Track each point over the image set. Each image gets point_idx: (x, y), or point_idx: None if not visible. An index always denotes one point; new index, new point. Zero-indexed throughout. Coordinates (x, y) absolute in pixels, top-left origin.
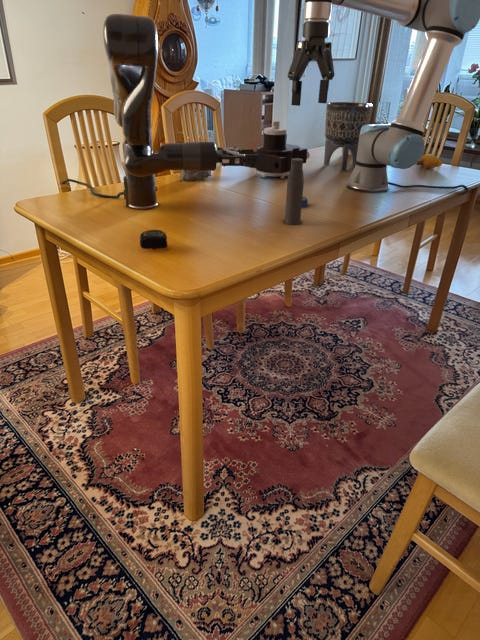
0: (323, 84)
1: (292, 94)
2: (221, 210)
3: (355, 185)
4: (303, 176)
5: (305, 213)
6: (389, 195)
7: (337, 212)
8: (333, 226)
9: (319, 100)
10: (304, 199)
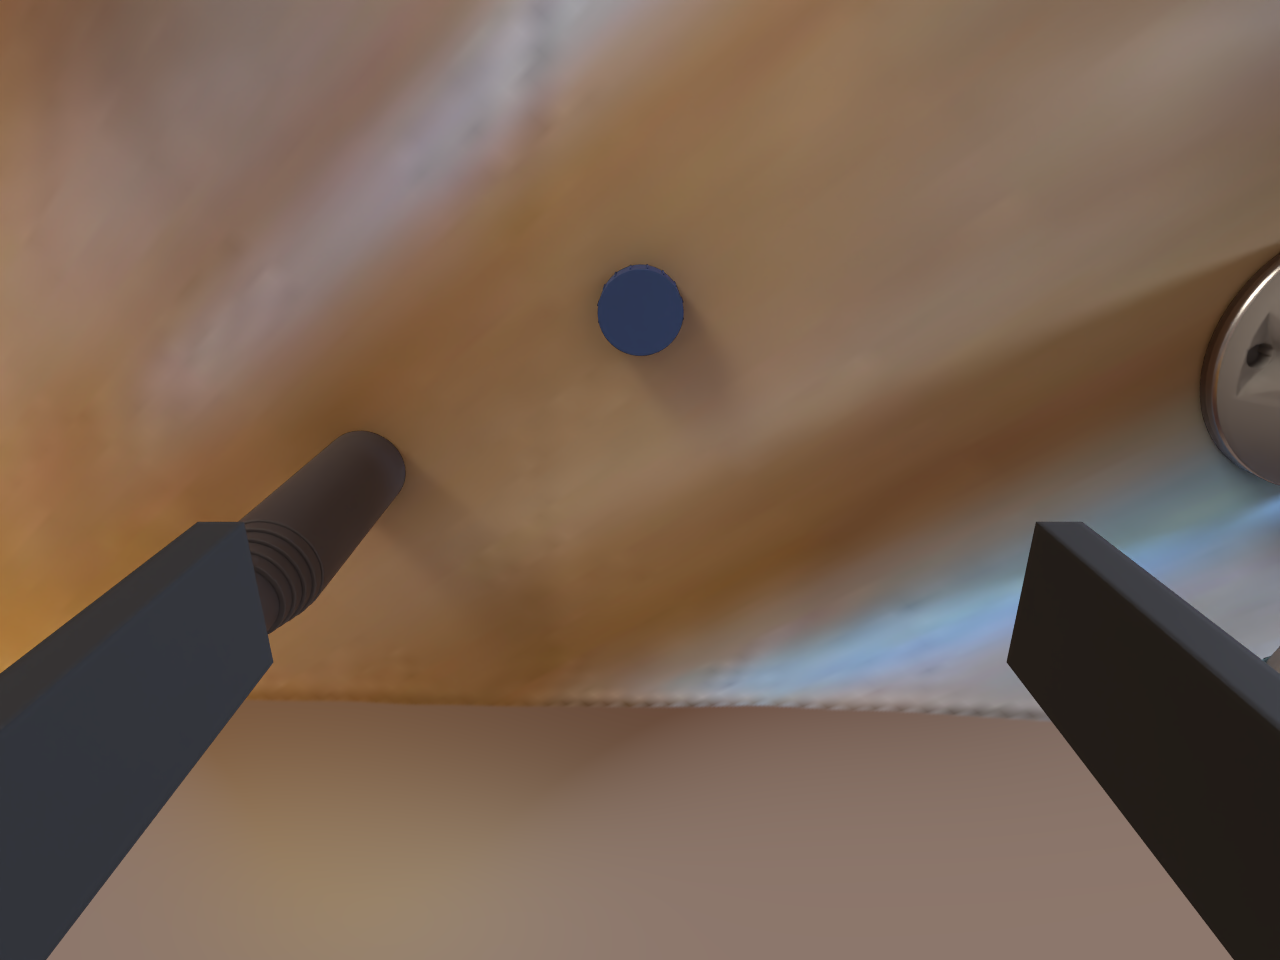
0: (1256, 848)
1: (79, 624)
2: (146, 16)
3: (1234, 342)
4: (289, 620)
5: (536, 423)
6: (1209, 540)
7: (683, 523)
8: (481, 624)
9: (1051, 566)
10: (640, 341)
